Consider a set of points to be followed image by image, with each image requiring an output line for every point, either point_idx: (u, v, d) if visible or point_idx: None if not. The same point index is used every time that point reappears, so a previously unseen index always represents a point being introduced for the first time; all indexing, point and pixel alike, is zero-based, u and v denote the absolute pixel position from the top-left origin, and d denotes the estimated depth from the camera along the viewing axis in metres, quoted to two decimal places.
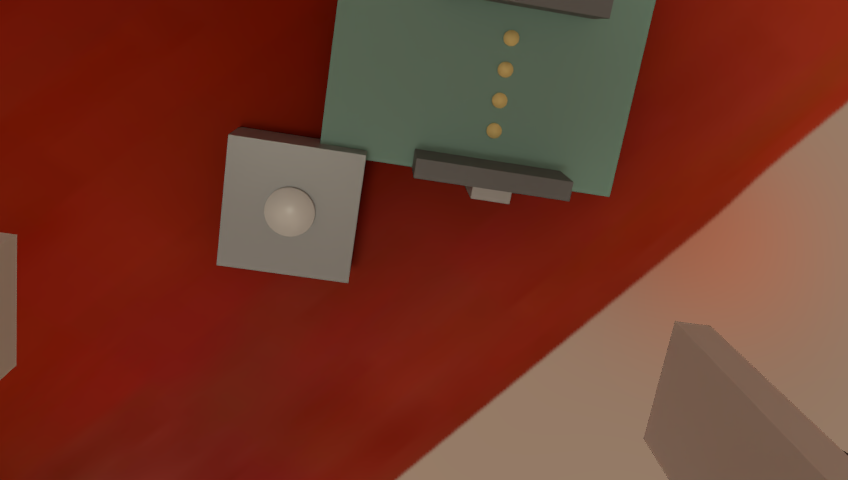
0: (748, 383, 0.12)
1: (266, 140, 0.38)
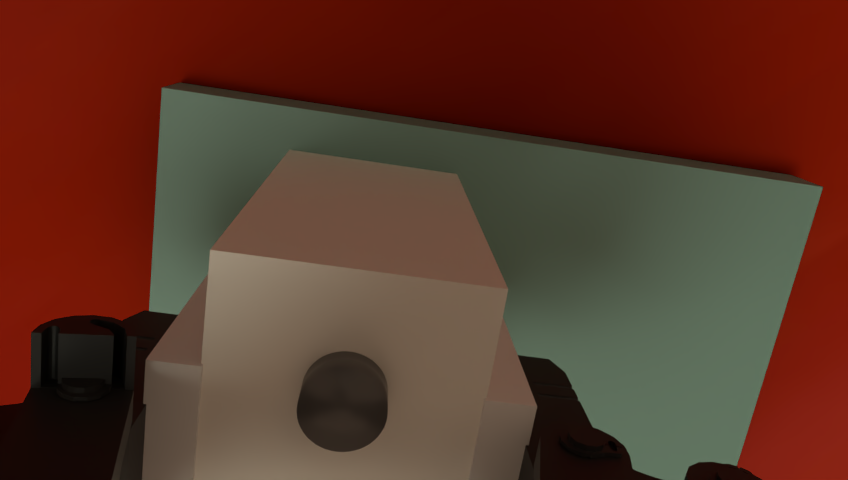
0: None
1: None
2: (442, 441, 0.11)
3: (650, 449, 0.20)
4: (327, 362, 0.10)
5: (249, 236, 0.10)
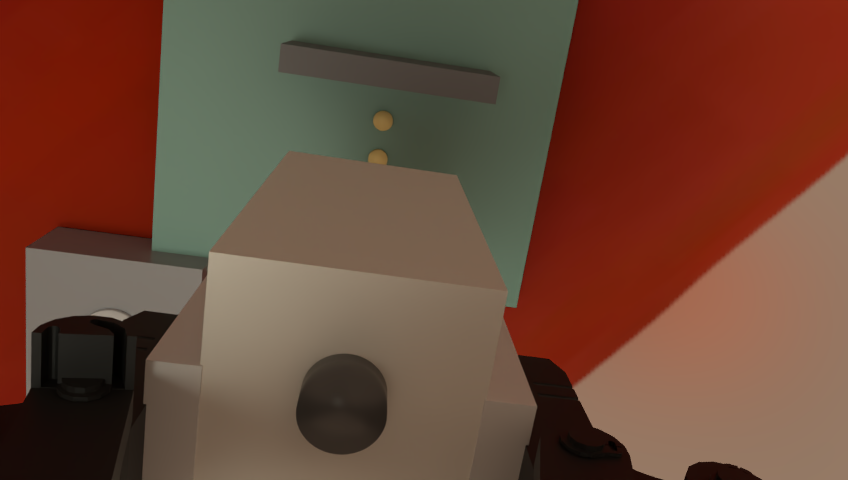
0: None
1: (75, 253, 0.30)
2: (442, 443, 0.11)
3: None
4: (326, 364, 0.10)
5: (248, 238, 0.10)
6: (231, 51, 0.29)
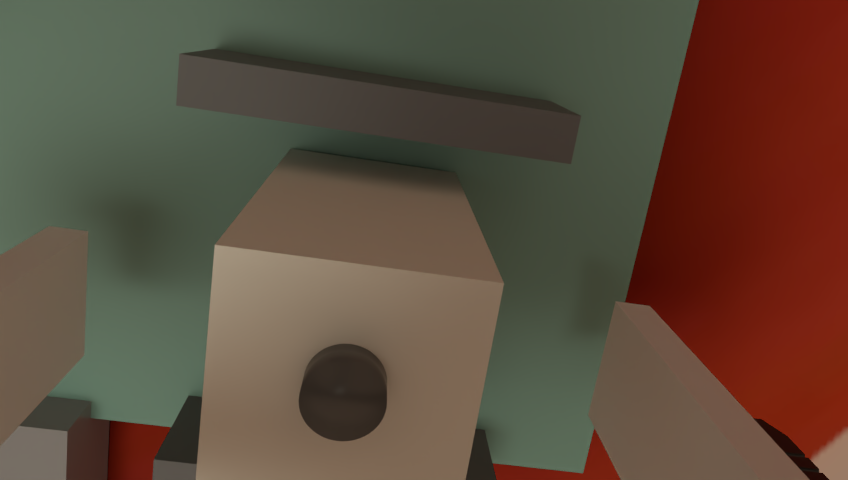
0: (674, 356, 0.13)
1: None
2: (440, 431, 0.11)
3: None
4: (329, 354, 0.10)
5: (252, 232, 0.11)
6: (112, 66, 0.17)
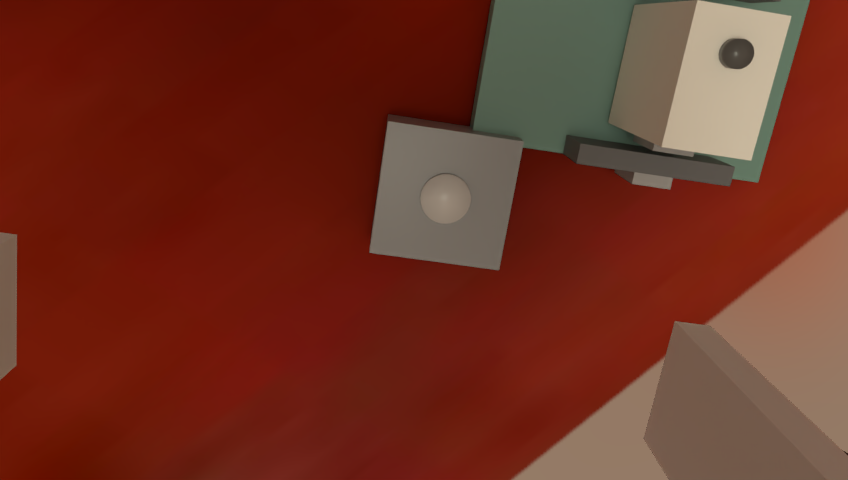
0: (748, 383, 0.12)
1: (425, 127, 0.37)
2: (763, 74, 0.31)
3: None
4: (732, 39, 0.30)
5: None
6: None
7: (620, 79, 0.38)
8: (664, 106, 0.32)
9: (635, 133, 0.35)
